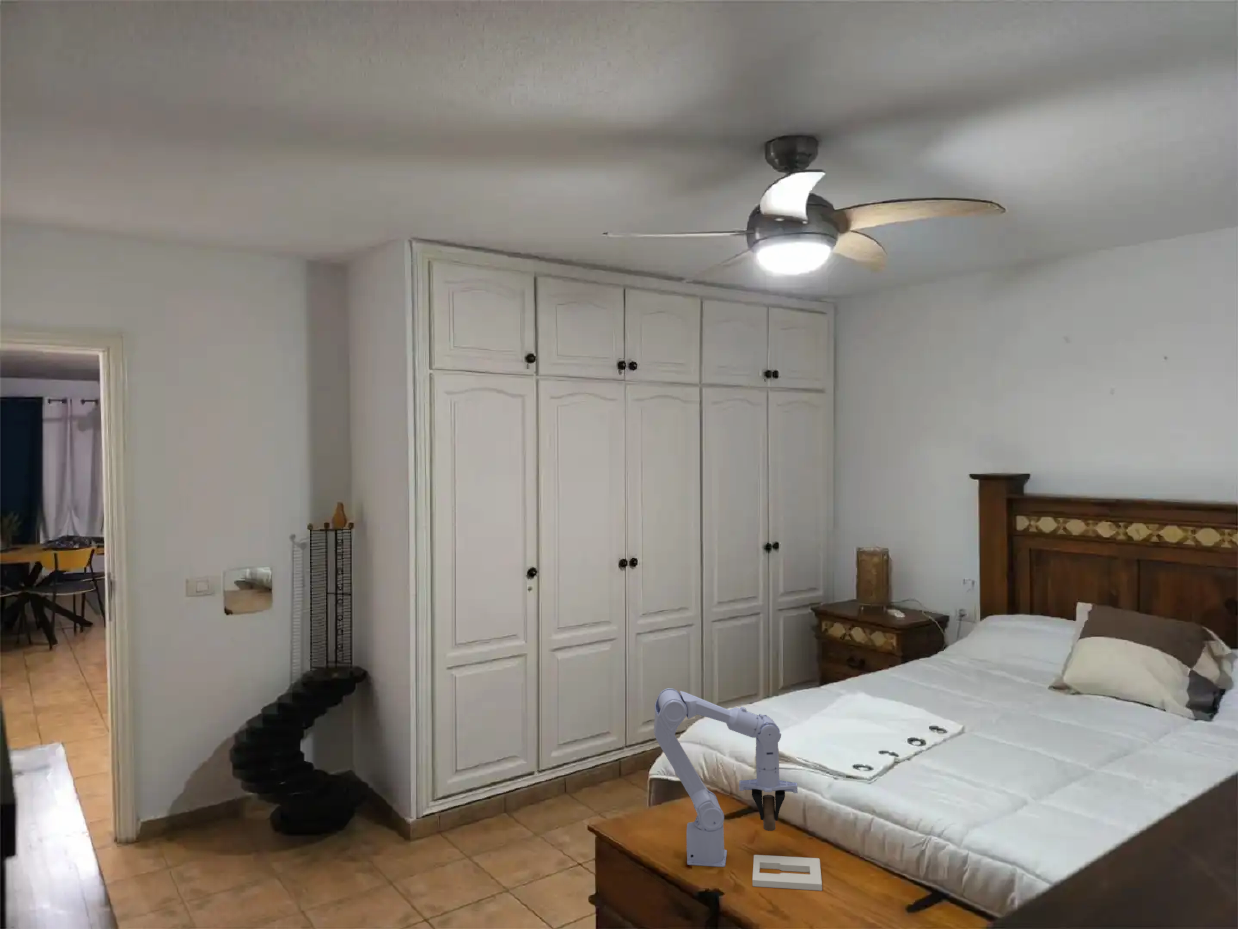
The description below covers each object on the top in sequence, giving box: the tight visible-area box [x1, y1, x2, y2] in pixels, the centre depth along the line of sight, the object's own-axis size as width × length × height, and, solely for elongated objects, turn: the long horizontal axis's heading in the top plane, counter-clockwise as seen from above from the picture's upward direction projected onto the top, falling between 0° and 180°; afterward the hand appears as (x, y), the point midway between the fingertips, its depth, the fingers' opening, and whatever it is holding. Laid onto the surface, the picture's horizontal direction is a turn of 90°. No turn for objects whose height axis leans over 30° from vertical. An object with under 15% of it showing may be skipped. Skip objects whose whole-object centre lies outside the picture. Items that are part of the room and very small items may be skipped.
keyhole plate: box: [752, 854, 823, 892], centre depth 202 cm, size 16×12×2 cm
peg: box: [762, 794, 777, 832], centre depth 212 cm, size 3×3×8 cm
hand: (769, 818), depth 212 cm, fingers closed on peg, 3 cm apart
